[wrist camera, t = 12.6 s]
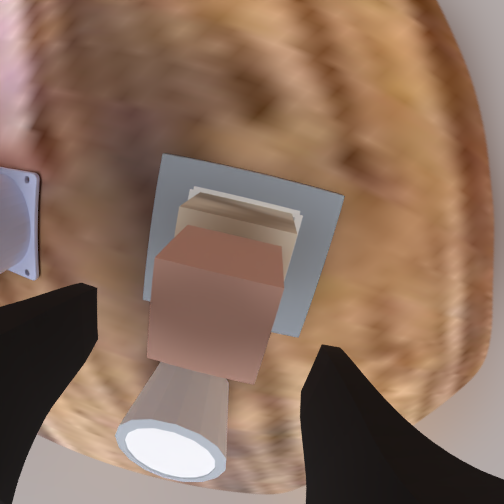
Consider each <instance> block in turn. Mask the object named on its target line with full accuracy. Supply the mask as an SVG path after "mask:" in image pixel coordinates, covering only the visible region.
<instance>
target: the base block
mask: <svg viewBox="0 0 504 504" xmlns="http://www.w3.org/2000/svg"><path fill="white" fill-rule="evenodd" d="M187 225H192V226H196V227H200V228H205V229H209V230H213V231H218V232H222V233H226V234H231V235H235V236H239V237H244V238H248V239H252V240H256V241H261V242H265V243H269V244H273V245H278V246H281V247H282V261H283V276H284V279H285V276H286V273H287V269H288V266H289V262H290V259H291V255H292V252H293V248H294V245H295V241H296V238H297V231H296V227H295V223H294V219H293V215H292V214H291V213H287V212H283V211H279V210H275V209H271V208H267V207H263V206H259V205H255V204H251V203H246V202H242V201H238V200H233V199H229V198H225V197H220V196H216V195H211V194H207V193H202V192H200V193H198V194H197V195H195V196H194V197H192V198H191V199H189V200H188V201H186V202H185V203H183V204H182V205H181V206H179V211H178V217H177V223H176V229H175V235H174V238H175V237H176V236H177V235H178V234H179V233H180V232H181V231H182V230H183V229H184V228H185V227H186V226H187Z"/></svg>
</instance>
